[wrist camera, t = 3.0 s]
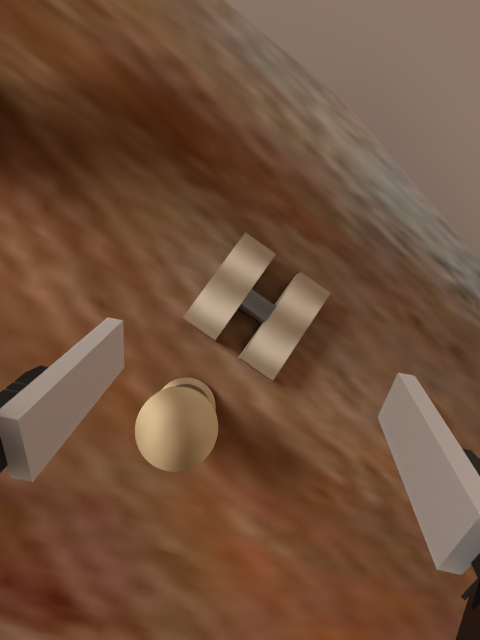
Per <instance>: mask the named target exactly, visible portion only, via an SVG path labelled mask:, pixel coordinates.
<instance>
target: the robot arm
mask: <svg viewBox="0 0 480 640" xmlns="http://www.w3.org/2000/svg"><path fill="white" fill-rule="evenodd" d="M123 368H124V338H123V320H118V319H113V318H106V319H105V320H104V321H103V322H102V323H101V324H99V325H98V326H97V327H96V328H95V329H93V330H92V331H91V332H90V333H89V334H88V335H86V336H85V337H84V338H83V339H82V340H80V341H79V342H78V343H77V344H76V345H75V346H73V347H72V348H71V349H70V350H69V351H68V352H66V353H65V354H64V355H63V356H62V357H60V358H59V359H58V360H57V361H56V362H55V363H53V364H52V365H51V366H50V367H45V366H39V367H36V368H34V369H32V370H30V371H28V372H26V373H24V374H23V375H22V376H21V377H19V378H18V379H17V380H15V382H14V383H12V384H10V385H9V386H8V387H7V388H6V390H3V391H2V392H0V473H1V472H2V470H3V469H4V468H5V467H6V466H7V467H8V471H9V474H10V478H15V479H20V480H24V481H29V482H33V481H34V480H35V479H36V477H37V476H38V475H39V474H40V472H41V471H42V470H43V469H44V467H45V466H46V465H47V464H48V462H49V461H50V460H51V459H52V457H53V456H54V455H55V454H56V452H57V451H58V450H59V449H60V447H61V446H62V445H63V444H64V442H65V441H66V440H67V438H68V437H69V436H70V435H71V433H72V432H73V431H74V430H75V428H76V427H77V426H78V425H79V423H80V422H81V421H82V420H83V418H84V417H85V416H86V415H87V413H88V412H89V411H90V410H91V408H92V407H93V406H94V405H95V403H96V402H97V401H98V400H99V398H100V397H101V396H102V395H103V393H104V392H105V391H106V390H107V388H108V387H109V386H110V385H111V383H112V382H113V381H114V380H115V378H116V377H117V376H118V374H119V373H120V372H121V371H122V369H123ZM378 420H379V422H380V425H381V427H382V430H383V432H384V435H385V438H386V440H387V443H388V445H389V448H390V450H391V453H392V456H393V458H394V461H395V463H396V466H397V468H398V471H399V474H400V476H401V479H402V481H403V484H404V487H405V489H406V492H407V494H408V497H409V499H410V502H411V505H412V507H413V510H414V512H415V515H416V517H417V520H418V523H419V525H420V528H421V530H422V533H423V535H424V538H425V541H426V543H427V546H428V548H429V551H430V554H431V556H432V559H433V561H434V564H435V566H436V569H437V570H441V571H446V572H450V573H455V574H460V575H462V574H463V573H464V572H465V571H466V570H467V569H468V567H469V566H470V565H471V564H472V566H473V568H474V570H475V572H476V574H477V577H478V579H477V580H476V581H475V582H474V583H473V584H472V585H471V586H470V587H469V588H468V589H467V590H466V591H465V592H464V594H463V595H462V596H461V597H462V598H463V599H464V600H466V599H467V598H468V597H469V598H468V601H467V605H466V608H465V611H464V614H463V618H462V621H461V624H460V627H459V631H458V634H457V637H456V640H480V459H479V458H478V457H477V456H476V455H475V454H474V453H473V452H472V451H471V450H466V449H462V448H461V447H460V445H459V443H458V442H457V440H456V439H455V437H454V436H453V434H452V433H451V431H450V429H449V428H448V426H447V425H446V423H445V422H444V420H443V419H442V417H441V416H440V414H439V412H438V411H437V409H436V408H435V406H434V405H433V403H432V402H431V400H430V399H429V397H428V395H427V394H426V392H425V391H424V389H423V388H422V386H421V385H420V383H419V382H418V380H417V378H416V377H415V376H413V375H408V374H402V373H398V374H397V376H396V378H395V380H394V383H393V385H392V387H391V389H390V391H389V393H388V396H387V398H386V400H385V402H384V404H383V406H382V409H381V411H380V413H379V415H378Z"/></svg>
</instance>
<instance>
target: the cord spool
mask: <svg viewBox="0 0 480 640" xmlns="http://www.w3.org/2000/svg"><path fill="white" fill-rule="evenodd" d="M215 410H216V405H215V399H214V396H213V393H212V391H211V390H210V388H209V387H208V386H207V385H206V384H205V383H203V382H202V381H200V380H198V379H195V378H191V377H183V378H178V379H175V380H173V381H171V382H170V383H168V384H167V385H166V386H165V387H164V388H163V389H162V390H161V391H159V392H158V393H156V394H155V395H153V396H152V397H151V398H150V399H149V400H148V401H147V402H146V403H145V404H144V406H143V407H142V408H141V410H140V412H139V414H138V417H137V420H136V425H135V437H136V442H137V446H138V448H139V450H140V452H141V454H142V455H143V456H144V458H145V459H146V460H147V461H148V462H149V463H151V464H152V465H153V466H155V467H157V468H159V469H162V470H165V471H172V472H178V471H184V470H188V469H191V468H193V467H195V466H197V465H198V464H200V463H201V462H202V461H203V460H204V459H205V458H206V457H207V456H208V455H209V454H210V452H211V451H212V449H213V447H214V445H215V442H216V440H217V435H218V420H217V415H216V412H215Z"/></svg>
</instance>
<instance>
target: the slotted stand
mask: <svg viewBox="0 0 480 640" xmlns="http://www.w3.org/2000/svg"><path fill="white" fill-rule="evenodd" d="M275 255H276V254H275V253H274V252H272V251H271V250H270V249H268V248H267V247H265V246H264V245H263V244H261V243H260V242H258V241H257V240H256V239H254V238H253V237H251V236H250V235H249V234H247V233H246V232H245V233H244V235H243V236H242V238H241V239H240V240H239V242H238V243H237V244H236V246H235V247H234V248H233V250H232V251H231V253H230V254H229V255H228V257H227V258H226V259H225V261H224V262H223V263H222V265H221V266H220V268H219V269H218V270H217V272H216V273H215V274H214V276H213V277H212V278H211V280H210V281H209V283H208V284H207V285H206V287H205V288H204V289H203V291H202V292H201V294H200V295H199V296H198V298H197V299H196V300H195V302H194V303H193V304H192V306H191V307H190V309H189V310H188V311H187V313H186V314H185V315H184V317H183V318H184V320H185V321H186V322H188V323H189V324H191V325H192V326H194V327H195V328H196V329H198V330H199V331H201V332H202V333H204V334H205V335H206V336H208V337H209V338H211V339H212V340H213V341H215V340H216V339H217V337H218V336H219V334H220V333H221V331H222V330H223V329H224V327H225V326H226V324H227V323H228V322H229V320H230V319H231V317H232V316H233V314H234V313H235V312H236V310H237V309H238V308H239V309H241V310H242V311H243V312H245V313H246V314H248V315H249V316H250V317H252V318H253V319H255V320H256V321H258V322H259V323H260V324H261V325H260V326H259V328H258V329H257V331H256V332H255V334H254V335H253V337H252V338H251V339H250V341H249V342H248V344H247V345H246V347H245V348H244V350H243V351H242V353H241V354H240V355H239V357H238V358H239V359H241V360H242V361H243V362H245V363H246V364H248V365H249V366H251V367H252V368H253V369H255V370H256V371H258V372H259V373H261V374H262V375H263V376H265V377H266V378H268V379H270V380H272V381H273V380H274V378H275V377H276V375H277V374H278V372H279V371H280V369H281V368H282V366H283V365H284V363H285V362H286V360H287V359H288V357H289V356H290V354H291V353H292V351H293V349H294V348H295V346H296V345H297V343H298V342H299V340H300V339H301V337H302V336H303V334H304V333H305V331H306V330H307V328H308V327H309V325H310V324H311V322H312V321H313V319H314V318H315V316H316V315H317V313H318V312H319V310H320V309H321V307H322V306H323V304H324V302H325V301H326V299H327V298H328V296H329V295H330V292H328V291H327V290H326V289H324V288H323V287H321V286H320V285H319V284H317V283H316V282H314V281H313V280H312V279H310V278H309V277H307V276H306V275H305V274H303V273H302V272H299V273H298V274H297V275H296V276H295V277H293V278H292V280H291V281H290V283H289V284H288V286H287V287H286V288H285V290H284V291H283V293H282V294H281V296H280V297H279V299H278V300H277V302H276V303H275V304H272V303H271V302H269V301H268V300H267V299H265V298H264V297H262V296H261V295H260V294H258V293H257V292H255V291H254V290H252V288H253V286H254V285H255V283H256V282H257V280H258V279H259V278H260V276H261V275H262V273H263V272H264V271H265V269H266V268H267V266H268V265H269V263H270V262H271V261H272V259H273V258H274V256H275Z"/></svg>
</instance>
